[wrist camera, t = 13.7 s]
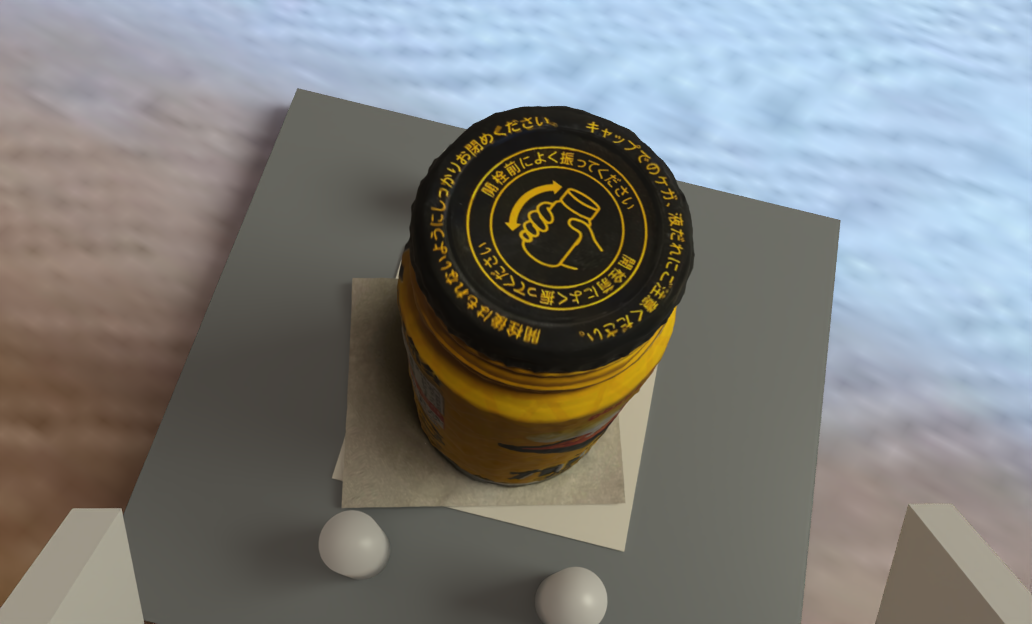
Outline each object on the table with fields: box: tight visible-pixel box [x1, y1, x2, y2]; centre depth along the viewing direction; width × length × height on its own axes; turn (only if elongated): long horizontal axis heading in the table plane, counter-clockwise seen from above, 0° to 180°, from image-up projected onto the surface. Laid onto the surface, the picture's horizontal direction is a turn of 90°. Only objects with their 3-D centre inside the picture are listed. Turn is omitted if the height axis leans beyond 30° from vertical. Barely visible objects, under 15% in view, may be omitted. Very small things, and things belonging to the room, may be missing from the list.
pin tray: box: [123, 88, 840, 624], centre depth 25 cm, size 20×18×4 cm
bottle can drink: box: [342, 106, 695, 508], centre depth 20 cm, size 7×8×12 cm
